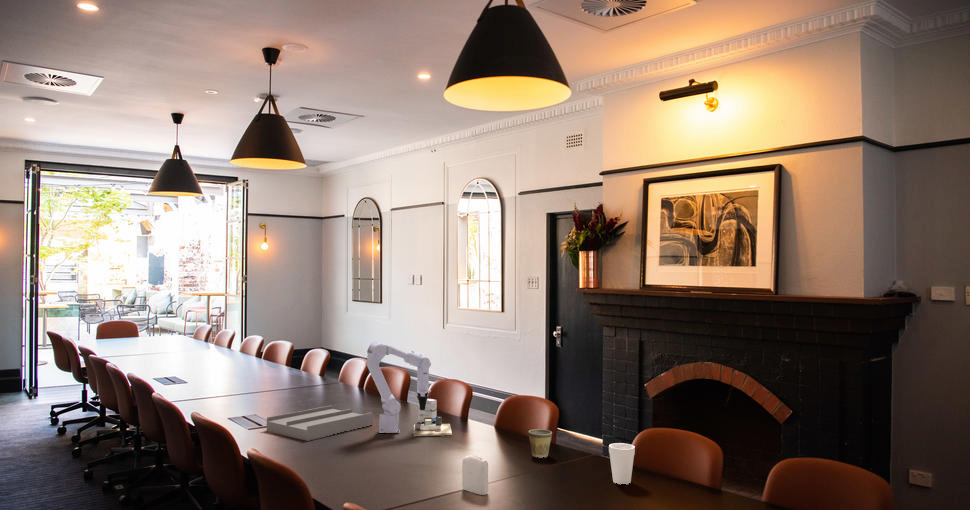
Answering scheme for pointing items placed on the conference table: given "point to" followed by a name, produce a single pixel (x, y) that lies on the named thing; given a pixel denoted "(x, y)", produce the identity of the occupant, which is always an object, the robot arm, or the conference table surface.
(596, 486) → the conference table surface
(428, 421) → the block
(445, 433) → the base
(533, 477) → the conference table surface
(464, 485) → the white upright slab
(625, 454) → the foam cup
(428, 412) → the ink box
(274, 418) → the desk organizer
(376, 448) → the conference table surface
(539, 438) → the ceramic cup
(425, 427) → the lever
